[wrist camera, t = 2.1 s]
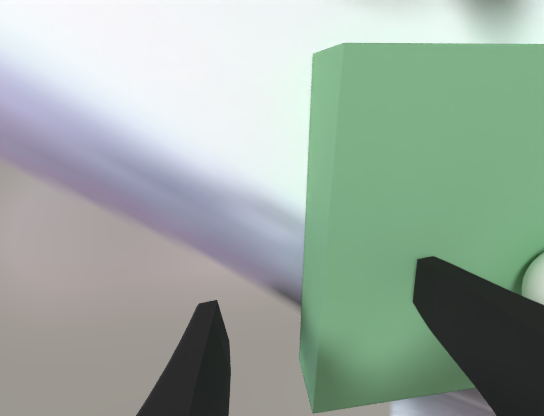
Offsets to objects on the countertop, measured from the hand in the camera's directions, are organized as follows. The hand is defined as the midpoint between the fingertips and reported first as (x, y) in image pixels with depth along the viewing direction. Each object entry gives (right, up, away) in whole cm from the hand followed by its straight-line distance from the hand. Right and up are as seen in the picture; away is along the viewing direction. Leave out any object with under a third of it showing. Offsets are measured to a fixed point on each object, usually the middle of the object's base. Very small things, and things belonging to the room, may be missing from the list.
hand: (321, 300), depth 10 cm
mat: (+12, +2, +5) cm, 13 cm away
